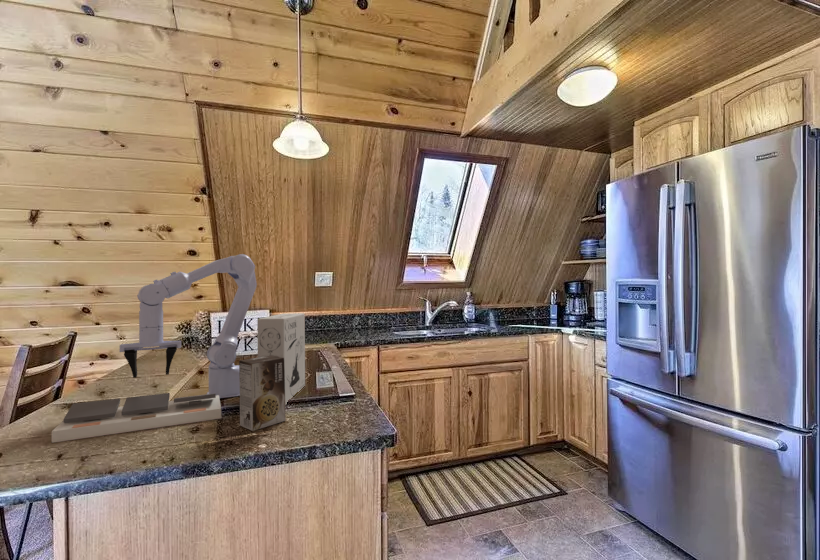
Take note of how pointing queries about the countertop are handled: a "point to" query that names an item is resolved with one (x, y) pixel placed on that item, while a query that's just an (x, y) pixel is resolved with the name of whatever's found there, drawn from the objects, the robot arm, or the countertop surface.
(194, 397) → the rocker inner
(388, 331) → the countertop surface
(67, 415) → the rocker outer
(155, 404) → the rocker mid
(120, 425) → the switch panel
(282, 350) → the cereal box
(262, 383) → the cookie box
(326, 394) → the countertop surface
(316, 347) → the countertop surface
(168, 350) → the robot arm
